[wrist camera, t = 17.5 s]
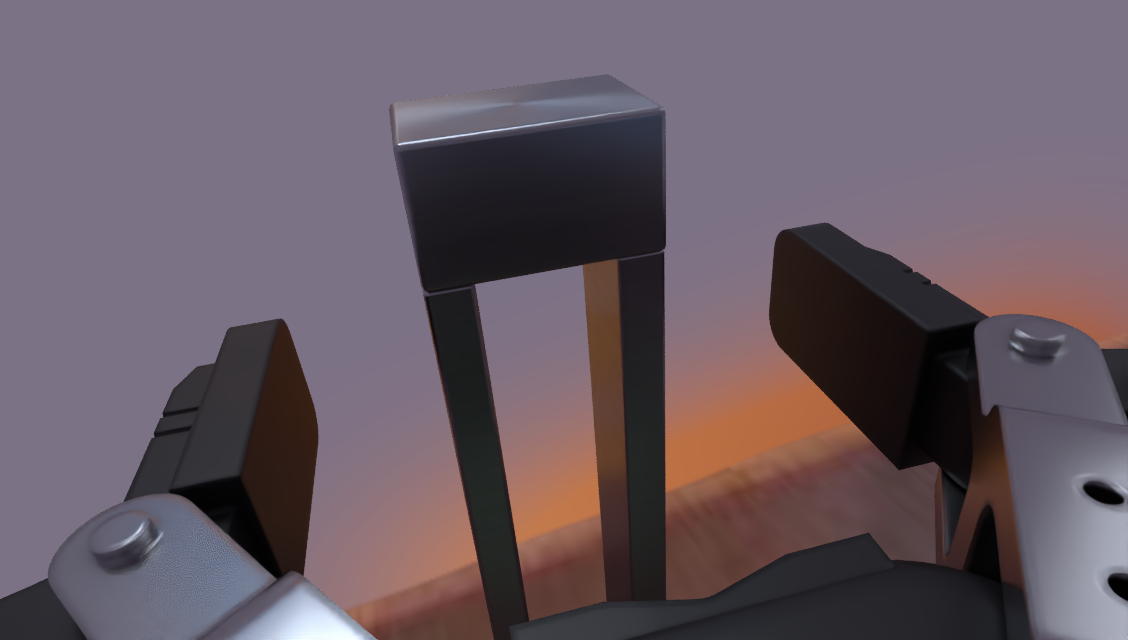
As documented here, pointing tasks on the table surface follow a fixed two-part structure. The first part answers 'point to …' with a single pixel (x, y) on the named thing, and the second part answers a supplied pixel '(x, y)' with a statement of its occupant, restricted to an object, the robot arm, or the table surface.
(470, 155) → the tall two-post stand
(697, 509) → the table surface
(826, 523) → the table surface
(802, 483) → the table surface
